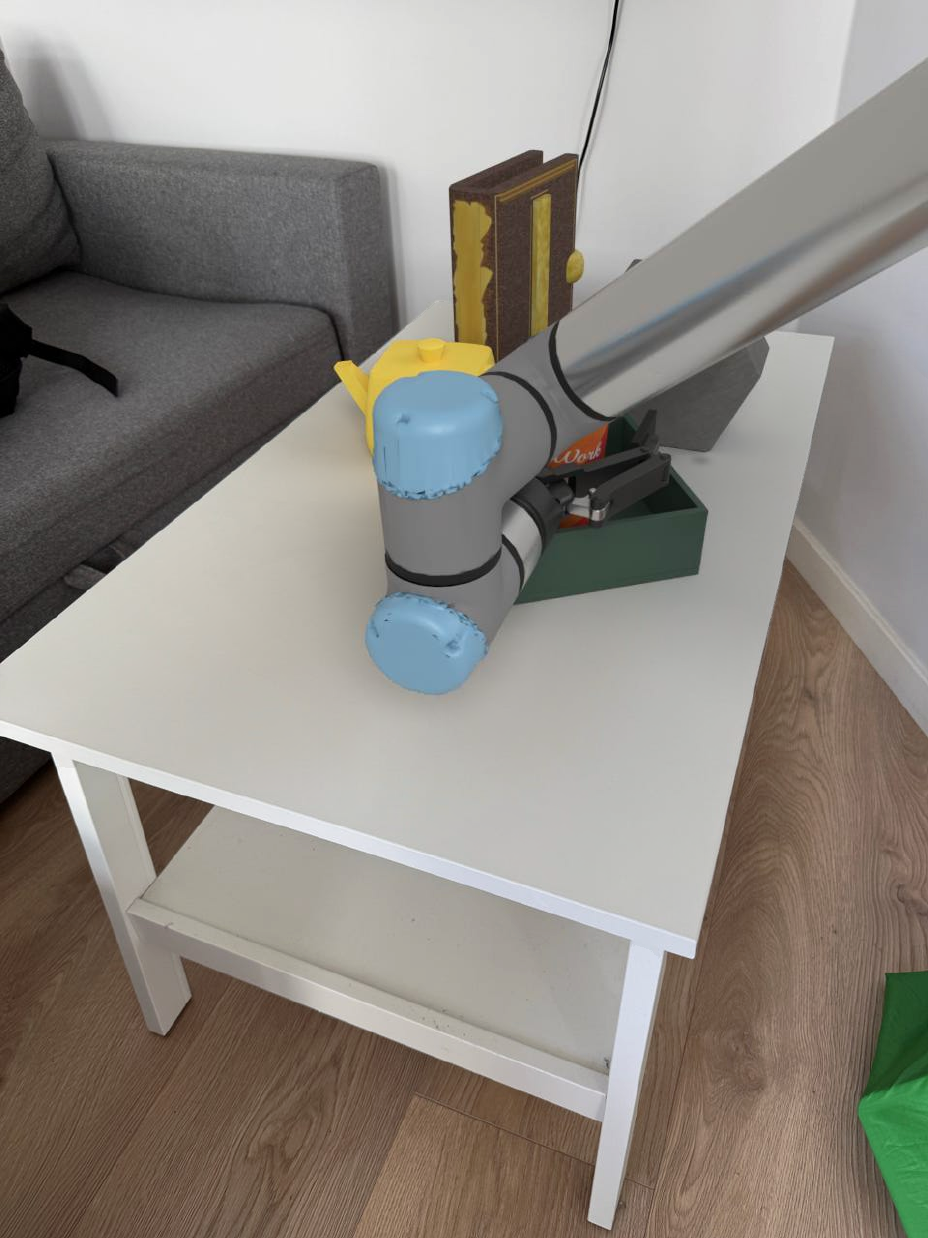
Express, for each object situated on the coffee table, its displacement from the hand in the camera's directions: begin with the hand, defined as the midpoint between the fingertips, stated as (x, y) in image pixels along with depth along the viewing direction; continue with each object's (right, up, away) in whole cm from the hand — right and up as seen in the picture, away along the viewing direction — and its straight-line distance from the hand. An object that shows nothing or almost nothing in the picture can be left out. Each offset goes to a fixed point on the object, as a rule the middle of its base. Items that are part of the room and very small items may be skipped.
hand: (578, 412), depth 84 cm
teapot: (-15, +1, +20) cm, 25 cm away
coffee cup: (-1, -10, +4) cm, 11 cm away
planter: (+12, +3, +21) cm, 24 cm away
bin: (-1, -11, +5) cm, 12 cm away
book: (-4, +11, +32) cm, 33 cm away
